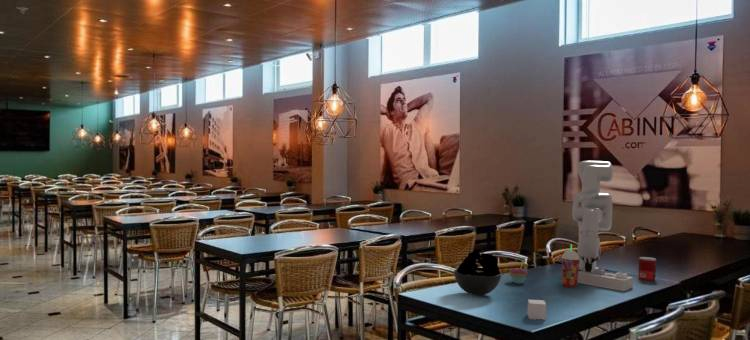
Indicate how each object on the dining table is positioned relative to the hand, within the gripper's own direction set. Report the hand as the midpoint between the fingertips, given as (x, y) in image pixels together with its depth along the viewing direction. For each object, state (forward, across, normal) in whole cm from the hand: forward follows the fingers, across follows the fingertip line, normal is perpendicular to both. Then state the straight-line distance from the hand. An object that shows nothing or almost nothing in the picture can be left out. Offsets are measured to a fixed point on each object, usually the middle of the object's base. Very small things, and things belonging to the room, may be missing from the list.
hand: (588, 271), depth 290 cm
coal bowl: (+6, -20, -68) cm, 71 cm away
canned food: (+6, +16, +33) cm, 37 cm away
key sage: (+4, 0, 0) cm, 4 cm away
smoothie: (+6, -2, -17) cm, 18 cm away
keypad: (+6, +8, 0) cm, 10 cm away
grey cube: (+6, +16, -80) cm, 82 cm away
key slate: (+2, +5, 0) cm, 6 cm away
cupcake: (+6, -22, -30) cm, 37 cm away
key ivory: (+3, +16, 0) cm, 16 cm away
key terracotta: (+4, +11, 0) cm, 12 cm away
